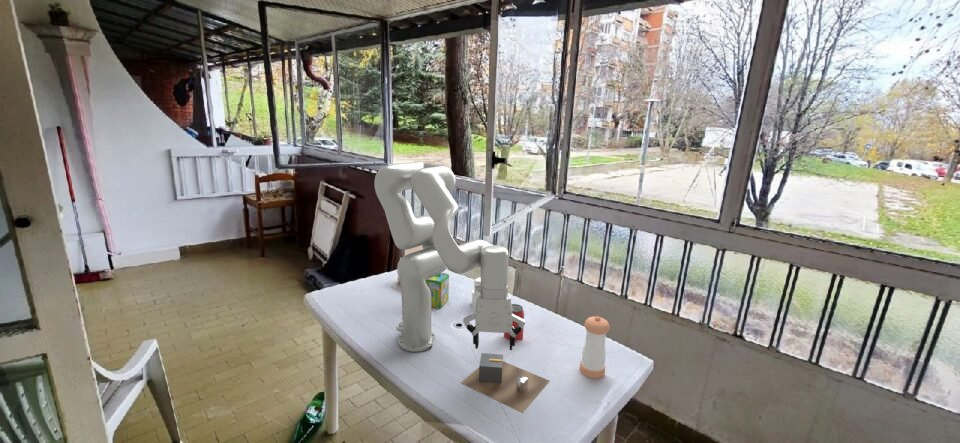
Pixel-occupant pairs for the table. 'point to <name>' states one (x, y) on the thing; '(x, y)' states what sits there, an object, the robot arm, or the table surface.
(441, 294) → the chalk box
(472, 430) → the table surface
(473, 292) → the cylinder with rectangular tab
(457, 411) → the table surface
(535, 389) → the base plate
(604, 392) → the table surface
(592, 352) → the pepper shaker
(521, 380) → the d shaft
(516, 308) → the beer can
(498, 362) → the grey cube with stripe
